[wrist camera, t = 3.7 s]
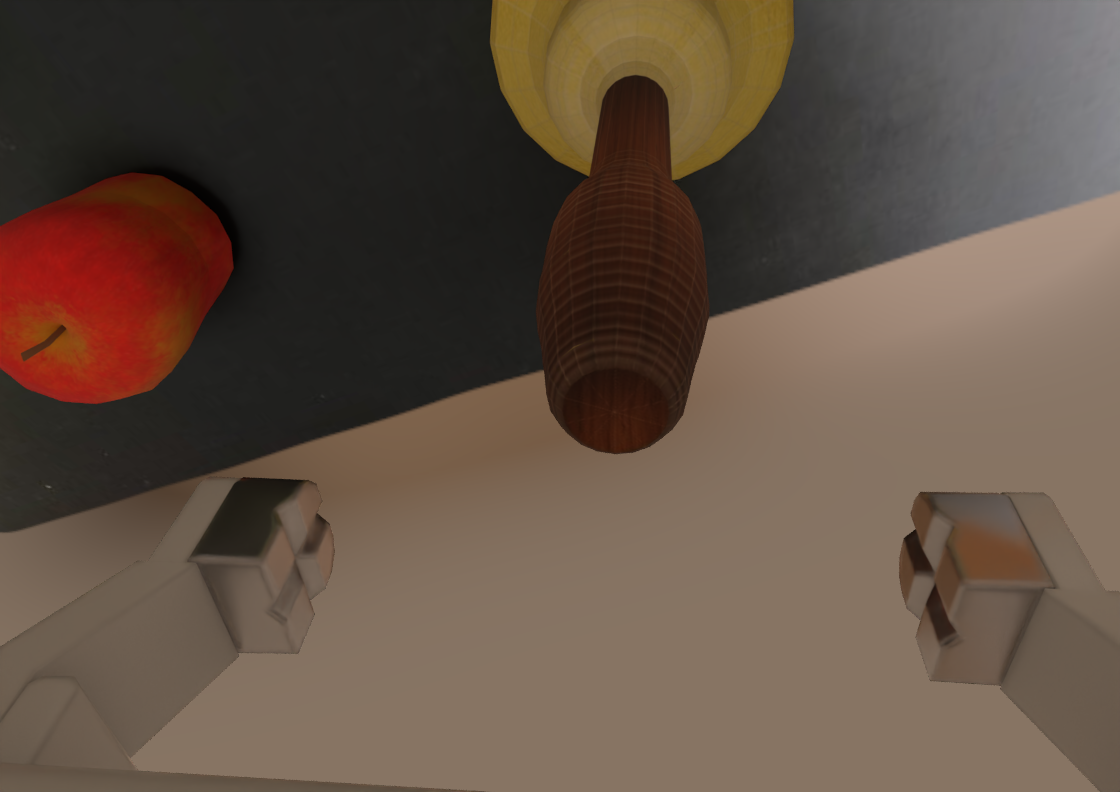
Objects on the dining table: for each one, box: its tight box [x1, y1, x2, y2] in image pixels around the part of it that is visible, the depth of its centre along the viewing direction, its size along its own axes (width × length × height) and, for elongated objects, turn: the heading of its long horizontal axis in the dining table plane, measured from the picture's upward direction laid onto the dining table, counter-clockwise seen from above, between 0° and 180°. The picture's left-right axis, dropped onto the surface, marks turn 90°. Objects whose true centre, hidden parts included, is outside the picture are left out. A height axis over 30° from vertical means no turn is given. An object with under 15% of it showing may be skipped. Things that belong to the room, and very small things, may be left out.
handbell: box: [490, 0, 794, 454], centre depth 23 cm, size 12×12×25 cm
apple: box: [0, 172, 234, 404], centre depth 36 cm, size 9×8×12 cm
